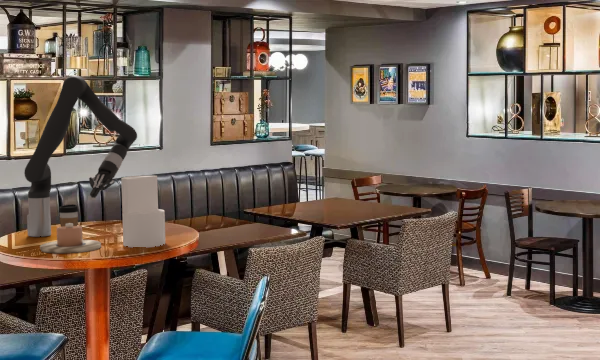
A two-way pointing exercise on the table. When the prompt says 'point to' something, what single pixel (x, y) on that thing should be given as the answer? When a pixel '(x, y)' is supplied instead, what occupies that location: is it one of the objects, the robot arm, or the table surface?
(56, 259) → the table surface
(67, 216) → the coffee cup
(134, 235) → the grey piece
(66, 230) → the knobbed pink canister
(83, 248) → the serving board
